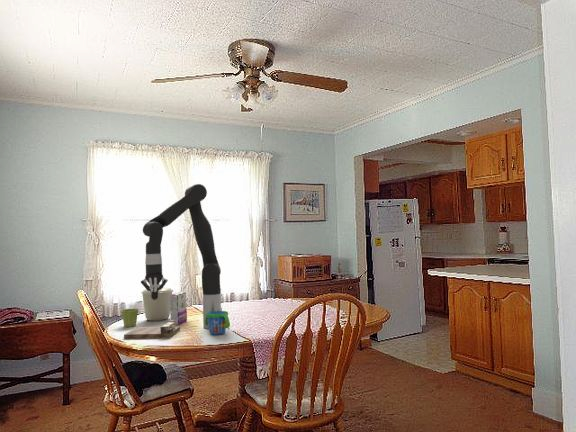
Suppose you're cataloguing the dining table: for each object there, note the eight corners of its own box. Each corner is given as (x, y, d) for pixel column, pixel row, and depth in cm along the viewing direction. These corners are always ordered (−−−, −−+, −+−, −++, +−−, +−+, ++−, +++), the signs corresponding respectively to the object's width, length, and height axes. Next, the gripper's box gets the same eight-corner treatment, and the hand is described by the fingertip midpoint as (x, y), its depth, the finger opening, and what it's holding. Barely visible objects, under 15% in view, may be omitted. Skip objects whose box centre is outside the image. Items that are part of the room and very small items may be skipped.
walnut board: (180, 330, 217) (179, 323, 217) (170, 337, 201) (169, 330, 202) (137, 331, 218) (137, 324, 218) (123, 338, 202) (123, 331, 202)
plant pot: (120, 325, 236) (120, 309, 237) (138, 323, 240) (138, 307, 240) (120, 328, 228) (120, 311, 228) (139, 326, 231) (139, 310, 231)
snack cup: (199, 333, 209) (198, 312, 210) (217, 329, 217) (217, 309, 217) (217, 338, 198) (217, 315, 199) (236, 334, 205) (235, 312, 206)
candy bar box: (179, 320, 245) (178, 291, 245) (187, 321, 244) (186, 291, 244) (169, 324, 234) (169, 294, 234) (178, 324, 233) (177, 294, 233)
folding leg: (170, 327, 216) (170, 320, 216) (176, 327, 216) (176, 320, 216) (160, 333, 202) (160, 326, 202) (166, 333, 202) (166, 325, 202)
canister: (148, 316, 261) (147, 282, 262) (177, 316, 260) (177, 281, 261) (136, 322, 243) (136, 285, 244) (168, 322, 242) (167, 284, 243)
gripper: (169, 262, 211) (170, 297, 210) (142, 263, 211) (143, 299, 210) (165, 263, 203) (166, 300, 202) (137, 264, 203) (138, 301, 203)
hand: (154, 299), depth 206 cm, fingers closed
